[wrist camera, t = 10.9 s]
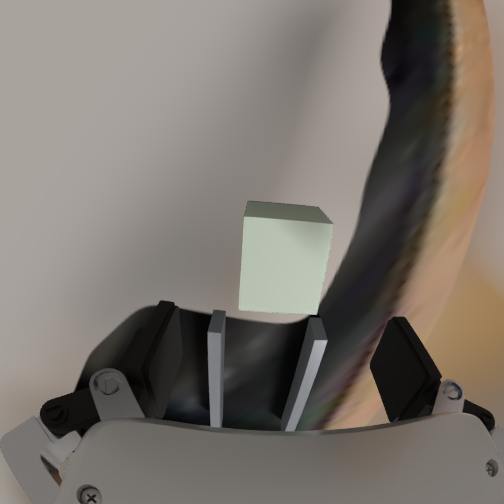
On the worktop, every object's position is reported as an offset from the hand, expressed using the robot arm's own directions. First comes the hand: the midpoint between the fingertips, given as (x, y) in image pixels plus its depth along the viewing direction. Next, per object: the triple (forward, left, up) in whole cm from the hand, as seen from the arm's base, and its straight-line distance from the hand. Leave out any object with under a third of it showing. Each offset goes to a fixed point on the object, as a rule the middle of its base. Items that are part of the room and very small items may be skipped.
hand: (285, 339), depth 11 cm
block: (+1, 0, -10) cm, 10 cm away
